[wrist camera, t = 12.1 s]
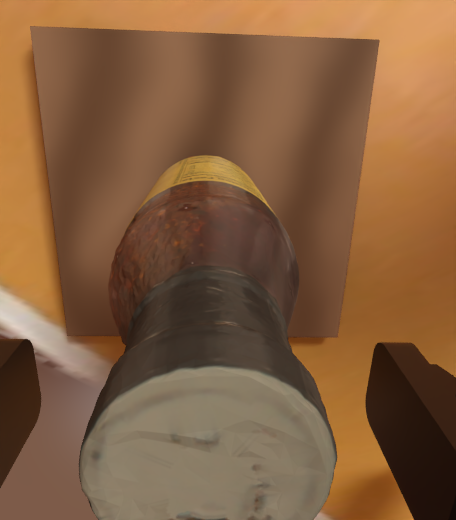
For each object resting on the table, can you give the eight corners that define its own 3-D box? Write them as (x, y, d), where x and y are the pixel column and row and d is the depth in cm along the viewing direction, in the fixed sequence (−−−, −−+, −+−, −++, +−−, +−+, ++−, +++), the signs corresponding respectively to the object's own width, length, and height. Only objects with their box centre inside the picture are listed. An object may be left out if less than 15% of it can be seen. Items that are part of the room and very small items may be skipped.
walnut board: (369, 43, 24) (379, 40, 22) (331, 326, 30) (337, 337, 29) (41, 30, 23) (30, 26, 21) (74, 324, 29) (67, 335, 28)
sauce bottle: (217, 272, 27) (229, 674, 8) (131, 215, 25) (-90, 550, 7) (282, 189, 25) (488, 460, 6) (195, 122, 23) (136, 227, 5)
